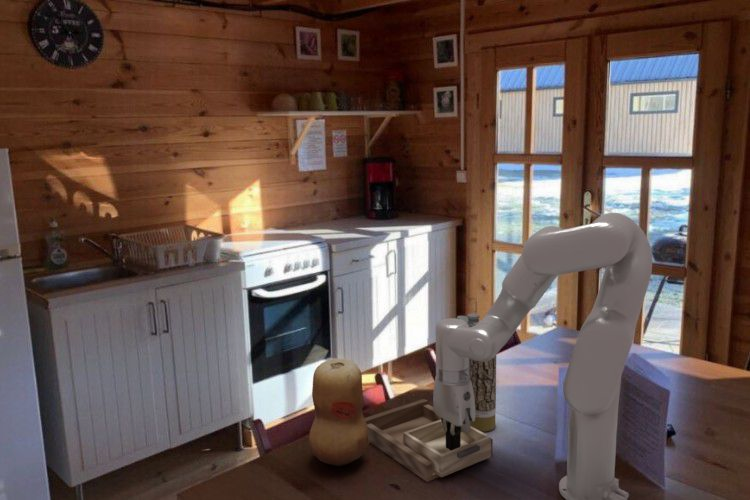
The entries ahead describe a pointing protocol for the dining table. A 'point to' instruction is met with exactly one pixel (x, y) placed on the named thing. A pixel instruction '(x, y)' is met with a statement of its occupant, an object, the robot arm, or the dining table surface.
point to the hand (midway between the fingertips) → (453, 447)
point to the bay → (389, 435)
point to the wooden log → (484, 393)
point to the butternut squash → (338, 413)
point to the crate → (433, 448)
